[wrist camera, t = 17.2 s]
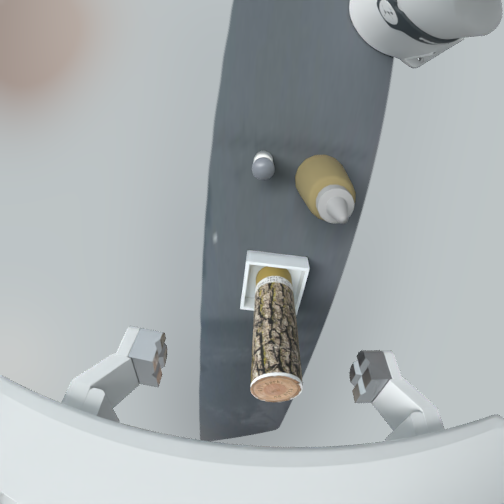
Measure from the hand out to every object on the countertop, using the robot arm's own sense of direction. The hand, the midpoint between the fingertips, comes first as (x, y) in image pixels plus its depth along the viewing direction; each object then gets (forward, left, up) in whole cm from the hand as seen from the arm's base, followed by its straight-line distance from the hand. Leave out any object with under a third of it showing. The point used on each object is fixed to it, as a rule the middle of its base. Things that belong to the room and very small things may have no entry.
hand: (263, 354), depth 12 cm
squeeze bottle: (-6, +7, -39) cm, 40 cm away
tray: (+10, +22, -39) cm, 46 cm away
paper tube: (+10, +22, -38) cm, 45 cm away
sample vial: (+1, +1, -39) cm, 39 cm away
